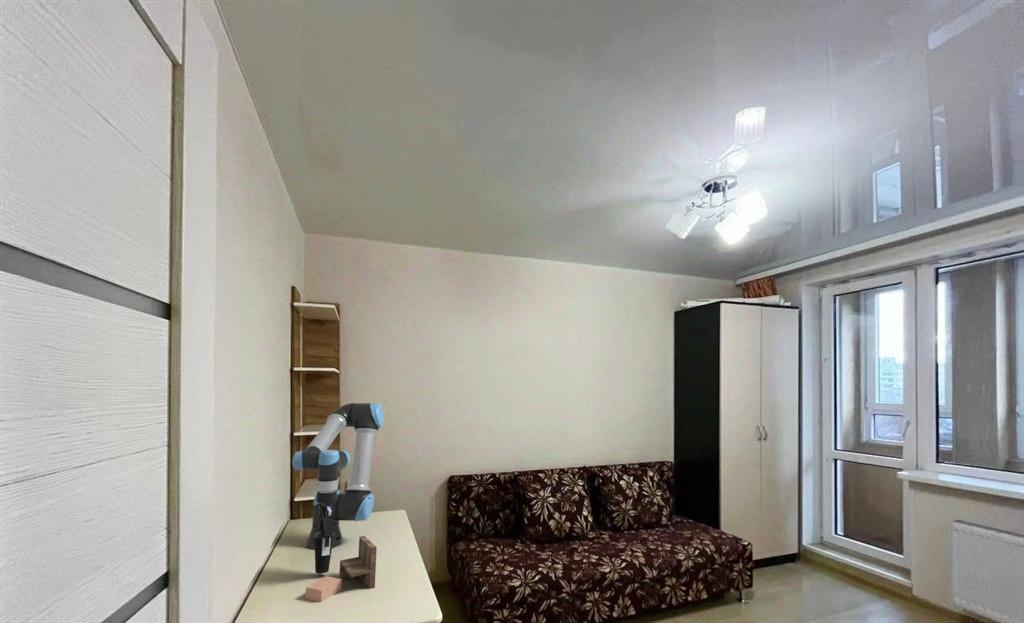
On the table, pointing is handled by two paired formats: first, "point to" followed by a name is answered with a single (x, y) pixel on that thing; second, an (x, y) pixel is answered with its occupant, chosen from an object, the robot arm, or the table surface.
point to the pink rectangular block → (323, 589)
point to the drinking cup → (321, 561)
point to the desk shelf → (361, 564)
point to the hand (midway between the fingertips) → (323, 551)
